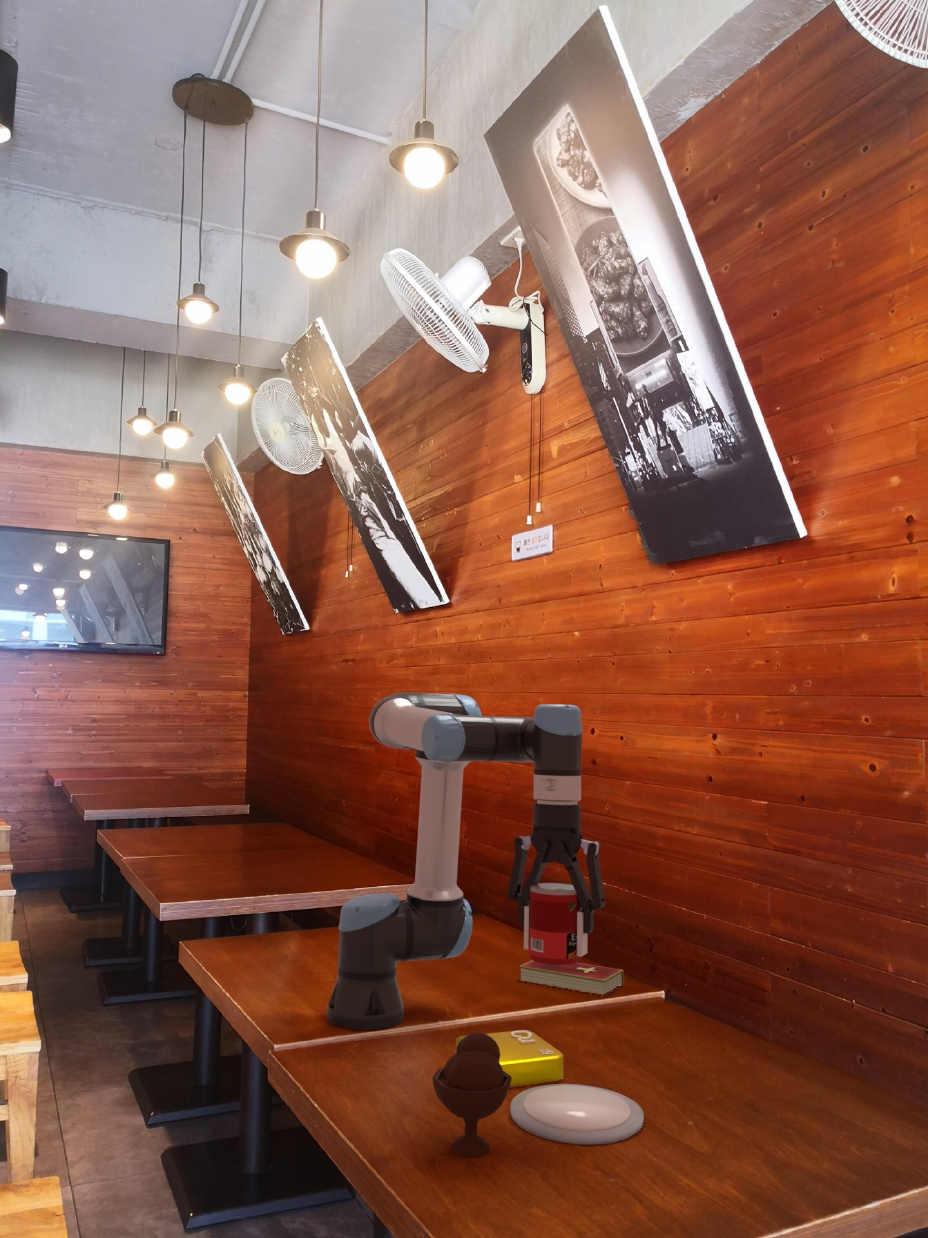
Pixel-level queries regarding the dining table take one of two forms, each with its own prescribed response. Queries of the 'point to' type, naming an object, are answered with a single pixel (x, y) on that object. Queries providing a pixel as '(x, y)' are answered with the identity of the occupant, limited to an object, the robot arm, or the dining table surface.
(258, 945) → the dining table surface
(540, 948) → the canned food
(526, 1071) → the element tile
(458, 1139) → the ice cream bowl
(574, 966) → the hardcover book
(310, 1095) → the dining table surface
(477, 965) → the dining table surface
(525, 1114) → the dish
